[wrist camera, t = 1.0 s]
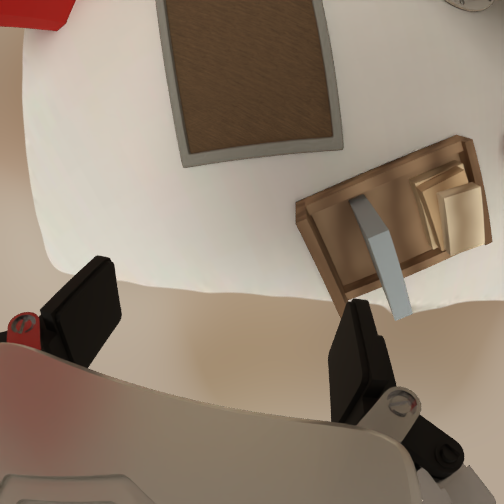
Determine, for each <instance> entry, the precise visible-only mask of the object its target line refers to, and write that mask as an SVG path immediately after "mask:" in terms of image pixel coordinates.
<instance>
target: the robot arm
mask: <svg viewBox="0 0 504 504" xmlns="http://www.w3.org/2000/svg"><path fill="white" fill-rule="evenodd" d="M445 1H447V2H448V3H450V4H452V5H454V6H456V7H458V8H460V9H463V10H467V11H472V12H473V11H481V10H484V9H486V8H488V7H489V6H490V5H491V4H492V3H493V1H494V0H445ZM40 312H41V315H40V316H39V317H38V316H37V315H36V314H35V313H31V312H24V313H20V314H18V315H16V316H15V317H14V318H12V319H11V321H10V322H9V324H8V331H5V332H1V333H0V504H496V501H495V499H494V496H493V495H492V494H491V493H490V491H489V490H488V489H487V487H486V486H485V485H484V483H483V482H482V481H481V480H480V478H479V477H478V476H477V474H476V473H475V472H474V470H473V469H472V468H471V467H470V465H469V466H468V467H466V466H465V465H464V464H463V461H464V452H463V449H462V447H461V446H460V444H459V443H458V442H457V441H455V440H454V439H453V438H451V437H450V436H448V435H447V434H446V433H444V432H443V431H442V430H440V429H439V428H437V427H436V426H435V425H433V424H432V423H431V422H429V421H428V420H426V419H425V418H424V417H422V416H421V415H420V412H421V402H420V400H419V398H418V397H417V395H416V394H415V393H414V392H412V391H411V390H409V389H407V388H404V387H397V386H396V382H395V378H394V374H393V370H392V366H391V363H390V359H389V355H388V351H387V348H386V344H385V340H384V338H383V336H379V335H378V334H377V331H376V326H375V323H374V319H373V316H372V313H371V309H370V306H369V302H368V301H367V300H361V299H353V300H352V301H351V302H347V303H346V306H345V309H344V312H343V315H342V318H341V321H340V324H339V327H338V329H337V332H336V335H335V338H334V340H333V343H332V346H331V349H330V351H329V355H328V366H329V383H330V401H331V422H328V421H320V420H310V419H302V418H294V417H285V416H279V415H272V414H265V413H258V412H252V411H246V410H240V409H235V408H230V407H224V406H219V405H214V404H210V403H205V402H200V401H196V400H192V399H188V398H183V397H179V396H175V395H171V394H167V393H164V392H160V391H156V390H153V389H149V388H146V387H142V386H139V385H136V384H133V383H129V382H126V381H123V380H119V379H117V378H114V377H111V376H107V375H105V374H102V373H99V372H96V371H93V370H90V369H88V367H89V366H90V364H91V363H92V361H93V359H94V358H95V357H96V355H97V353H98V352H99V351H100V349H101V348H102V346H103V345H104V343H105V342H106V340H107V339H108V337H109V336H110V334H111V333H112V332H113V330H114V329H115V327H116V326H117V325H118V323H119V321H120V319H121V316H122V313H121V307H120V301H119V295H118V288H117V282H116V274H115V267H114V263H113V262H111V259H110V258H108V257H103V256H95V257H94V258H93V259H92V260H91V261H90V262H89V263H88V264H87V265H86V266H84V267H83V268H82V269H81V270H80V271H79V272H78V273H77V274H76V275H75V276H74V277H73V278H72V279H71V280H70V281H68V282H67V283H66V285H64V286H63V287H62V288H61V289H60V290H59V291H58V292H57V293H56V294H55V295H54V296H53V297H52V298H51V299H50V300H49V301H48V302H47V303H46V304H45V305H44V306H43V307H42V308H41V309H40ZM422 500H423V501H422Z"/></svg>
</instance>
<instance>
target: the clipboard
mask: <svg viewBox="0 0 504 504" xmlns="http://www.w3.org/2000/svg"><path fill="white" fill-rule="evenodd" d="M156 9H157V16H158V24H159V31H160V39H161V46H162V52H163V59H164V66H165V72H166V78H167V84H168V90H169V96H170V102H171V108H172V113H173V119H174V124H175V130H176V135H177V140H178V146H179V151H180V156H181V161H182V165H183V167H184V168H187V167H193V166H199V165H206V164H212V163H219V162H226V161H233V160H240V159H248V158H256V157H265V156H274V155H284V154H294V153H306V152H318V151H333V150H343V148H344V146H343V134H342V124H341V115H340V106H339V98H338V90H337V83H336V76H335V69H334V63H333V56H332V50H331V45H330V39H329V34H328V28H327V23H326V18H325V13H324V9H323V4H322V0H156Z"/></svg>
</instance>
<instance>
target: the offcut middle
mask: <svg viewBox="0 0 504 504" xmlns="http://www.w3.org/2000/svg"><path fill="white" fill-rule="evenodd" d="M467 183H468V179H467V176H466V173H465V170H464V169H462V168H460V167H458V166H454V167H452V168H450V169H449V170H447V171H445V172H443V173H441V174H439V175H437V176H435V177H433V178H431V179H429V180H427V181H425V182H423V183H421V184H419V185H418V186H416V189H417V192H418V194H419V197H420V200H421V202H422V205H423V208H424V211H425V214H426V216H427V219H428V222H429V225H430V228H431V231H432V234H433V238H434V241H435V244H436V245H437V246H438V247H439V248H440V250H441V251H444V250H445V249H444V242H443V233H442V225H441V218H440V211H439V204H438V198H437V192H441V191H444V190H447V189H451V188H454V187H457V186H460V185H464V184H467Z"/></svg>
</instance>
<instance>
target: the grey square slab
mask: <svg viewBox="0 0 504 504" xmlns="http://www.w3.org/2000/svg"><path fill="white" fill-rule="evenodd" d="M349 203H350V205H351V207H352V210H353V212H354V215H355V217H356V220H357V222H358V225H359V227H360V230H361V232H362V235H363V238H364V240H365V243H366V245H367V248H368V251H369V254H370V256H371V259H372V262H373V265H374V267H375V270H376V272H377V275H378V277H379V280H380V282H381V285H382V287H383V290H384V292H385V295H386V298H387V300H388V303H389V306H390V308H391V311H392V314H393V316H394V319H395V321H396V320H399V319H401V318H404V317H406V316H408V315H411V314H413V313H412V309H411V305H410V301H409V297H408V293H407V289H406V285H405V282H404V278H403V275H402V271H401V268H400V264H399V261H398V257H397V254H396V251H395V248H394V245H393V241H392V238H391V235H390V232H389V230H388V228H387V227H386V225H385V224H384V222H383V221H382V219H381V218H380V216H379V215H378V213H377V212H376V210H375V209H374V208H373V206H372V205H371V203H370V202H369V201H368V199H367V198H366V196H365V195H364V194H362V195H360V196H357V197H355V198H353V199H350V200H349Z"/></svg>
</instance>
